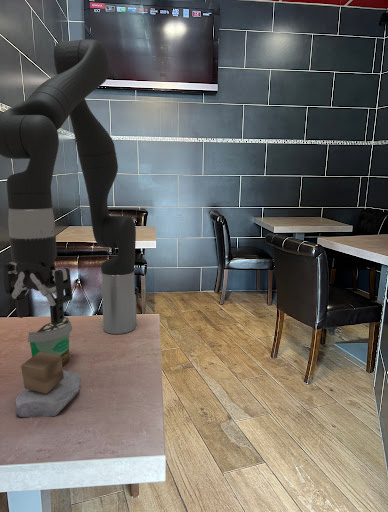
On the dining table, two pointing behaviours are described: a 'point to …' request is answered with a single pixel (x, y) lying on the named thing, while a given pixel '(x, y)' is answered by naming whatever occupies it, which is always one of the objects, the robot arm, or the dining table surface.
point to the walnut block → (42, 372)
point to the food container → (52, 340)
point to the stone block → (48, 398)
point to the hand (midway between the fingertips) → (39, 320)
